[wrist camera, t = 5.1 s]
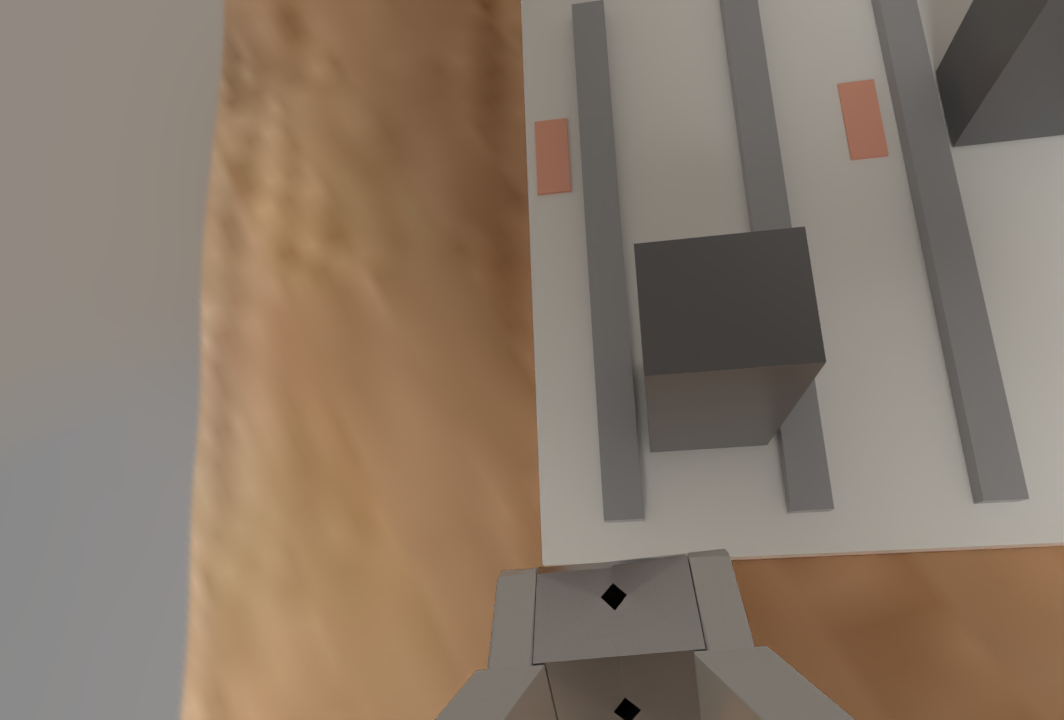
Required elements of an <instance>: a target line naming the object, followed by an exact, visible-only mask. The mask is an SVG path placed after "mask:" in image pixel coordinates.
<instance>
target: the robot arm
mask: <svg viewBox="0 0 1064 720" xmlns="http://www.w3.org/2000/svg"><path fill="white" fill-rule="evenodd" d="M435 720H855V719H854V718H852V717H851V716H850V715H849V714H848V713H846V712H845V711H844V710H843V709H842V708H840V707H839V706H838V705H837V704H836V703H834V702H833V701H832V700H831V699H830V698H829V697H827V696H826V695H825V694H824V693H823V692H821V691H820V690H819V689H818V688H817V687H815V686H814V685H813V684H812V683H811V682H809V681H808V680H807V679H806V678H805V677H803V676H802V675H801V674H800V673H799V672H798V671H796V670H795V669H794V668H793V667H792V666H790V665H789V664H788V663H787V662H786V661H784V660H783V659H782V658H781V657H780V656H778V655H777V654H776V653H775V652H774V651H773V650H771V649H770V648H769V647H768V646H757V647H755V646H754V642H753V638H752V635H751V631H750V627H749V624H748V620H747V617H746V613H745V609H744V606H743V602H742V598H741V595H740V591H739V588H738V584H737V580H736V577H735V573H734V569H733V566H732V562H731V558H730V555H729V553H728V552H727V550H726V549H725V548H724V549H716V550H707V551H699V552H690V553H687V555H686V554H676V555H667V556H658V557H648V558H639V559H630V560H621V561H612V562H601V563H587V564H574V565H561V566H547V567H539V568H532V569H518V570H504V571H501V573H500V575H499V577H498V579H497V587H496V596H495V605H494V614H493V623H492V632H491V641H490V650H489V659H488V668H487V670H478V671H475V673H474V674H473V675H472V676H471V677H470V679H469V680H468V681H467V682H466V683H465V684H464V686H463V687H462V688H461V689H460V690H459V692H458V693H457V694H456V695H455V696H454V697H453V699H452V700H451V701H450V702H449V703H448V705H447V706H446V707H445V708H444V709H443V710H442V712H441V713H440V714H439V715H438V716H437V718H436V719H435Z"/></svg>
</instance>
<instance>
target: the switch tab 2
mask: <svg viewBox="0 0 1064 720" xmlns="http://www.w3.org/2000/svg"><path fill="white" fill-rule="evenodd" d="M936 75H937V79H938V83H939V88H940V92H941V97H942V101H943V105H944V110H945V114H946V119H947V123H948V127H949V132H950V136H951V141H952V145H953V147H959V146H968V145H977V144H986V143H995V142H1004V141H1013V140H1022V139H1031V138H1039V137H1048V136H1057V135H1064V0H973V2H972V3H971V5H970V7H969V9H968V11H967V13H966V15H965V17H964V19H963V21H962V23H961V24H960V26H959V28H958V30H957V32H956V34H955V36H954V38H953V40H952V42H951V43H950V45H949V47H948V49H947V51H946V53H945V55H944V57H943V59H942V61H941V63H940V64H939V66H938V68H937V70H936Z"/></svg>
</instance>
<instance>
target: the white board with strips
mask: <svg viewBox="0 0 1064 720" xmlns="http://www.w3.org/2000/svg"><path fill="white" fill-rule="evenodd" d="M972 2H973V0H521V21H522V47H523V73H524V99H525V125H526V151H527V177H528V202H529V228H530V254H531V280H532V306H533V332H534V358H535V384H536V409H537V435H538V461H539V487H540V513H541V539H542V565H543V566H561V565H574V564H587V563H601V562H612V561H621V560H630V559H639V558H648V557H658V556H667V555H676V554H686V555H687V553H690V552H699V551H707V550H716V549H724V548H725V549H726V550H727V552H728V553H729V555H730V558H731V560H746V559H770V558H793V557H816V556H839V555H862V554H885V553H908V552H931V551H954V550H977V549H1000V548H1023V547H1046V546H1064V135H1057V136H1048V137H1039V138H1031V139H1022V140H1013V141H1004V142H995V143H986V144H977V145H968V146H959V147H953V145H952V141H951V136H950V132H949V127H948V123H947V119H946V114H945V110H944V105H943V101H942V97H941V92H940V88H939V83H938V79H937V75H936V70H937V68H938V66H939V64H940V63H941V61H942V59H943V57H944V55H945V53H946V51H947V49H948V47H949V45H950V43H951V42H952V40H953V38H954V36H955V34H956V32H957V30H958V28H959V26H960V24H961V23H962V21H963V19H964V17H965V15H966V13H967V11H968V9H969V7H970V5H971V3H972ZM804 226H805V229H806V236H807V242H808V248H809V255H810V261H811V268H812V274H813V280H814V287H815V293H816V300H817V306H818V312H819V319H820V325H821V332H822V338H823V344H824V351H825V357H826V363H825V365H824V366H823V367H822V369H821V370H820V372H819V373H818V374H817V376H816V377H815V379H814V380H813V381H812V383H811V384H810V386H809V387H808V389H807V390H806V391H805V393H804V394H803V396H802V397H801V398H800V400H799V401H798V403H797V404H796V405H795V407H794V408H793V410H792V411H791V412H790V414H789V415H788V417H787V418H786V420H785V421H784V422H783V424H782V425H781V427H780V428H779V429H778V431H777V432H776V434H775V435H774V436H773V438H772V439H771V441H770V442H769V444H768V445H760V446H745V447H729V448H713V449H697V450H682V451H666V452H650V443H649V431H648V419H647V407H646V394H645V382H644V370H643V358H642V345H641V332H640V319H639V306H638V293H637V280H636V267H635V254H634V244H637V243H647V242H656V241H666V240H676V239H686V238H696V237H706V236H716V235H726V234H735V233H745V232H755V231H765V230H775V229H785V228H795V227H804Z"/></svg>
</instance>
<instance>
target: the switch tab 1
mask: <svg viewBox="0 0 1064 720" xmlns="http://www.w3.org/2000/svg"><path fill="white" fill-rule="evenodd" d="M634 254H635V267H636V280H637V293H638V306H639V319H640V332H641V345H642V358H643V370H644V382H645V394H646V407H647V419H648V431H649V443H650V452H666V451H682V450H697V449H713V448H729V447H745V446H760V445H768V444H769V442H770V441H771V439H772V438H773V436H774V435H775V434H776V432H777V431H778V429H779V428H780V427H781V425H782V424H783V422H784V421H785V420H786V418H787V417H788V415H789V414H790V412H791V411H792V410H793V408H794V407H795V405H796V404H797V403H798V401H799V400H800V398H801V397H802V396H803V394H804V393H805V391H806V390H807V389H808V387H809V386H810V384H811V383H812V381H813V380H814V379H815V377H816V376H817V374H818V373H819V372H820V370H821V369H822V367H823V366H824V365H825V363H826V357H825V351H824V344H823V338H822V332H821V325H820V319H819V312H818V306H817V300H816V293H815V287H814V280H813V274H812V268H811V261H810V255H809V248H808V242H807V236H806V229H805V226H804V227H795V228H785V229H775V230H765V231H755V232H745V233H735V234H726V235H716V236H706V237H696V238H686V239H676V240H666V241H656V242H647V243H637V244H634Z"/></svg>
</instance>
